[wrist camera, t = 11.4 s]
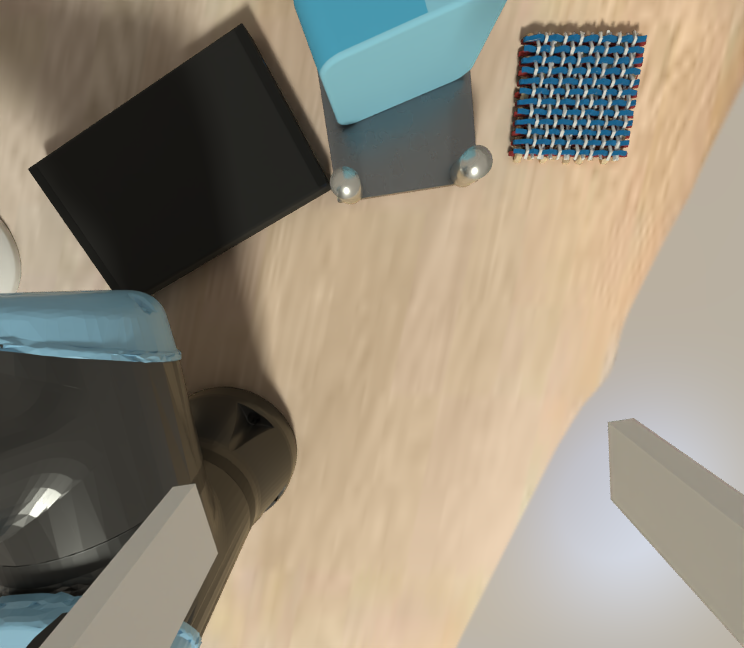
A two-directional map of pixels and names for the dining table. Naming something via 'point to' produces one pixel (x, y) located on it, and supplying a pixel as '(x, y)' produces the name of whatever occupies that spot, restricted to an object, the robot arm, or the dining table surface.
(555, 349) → the dining table surface
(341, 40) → the data package
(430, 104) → the chassis
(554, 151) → the woven mat
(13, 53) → the dining table surface
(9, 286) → the candlestick
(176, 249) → the external hard drive
